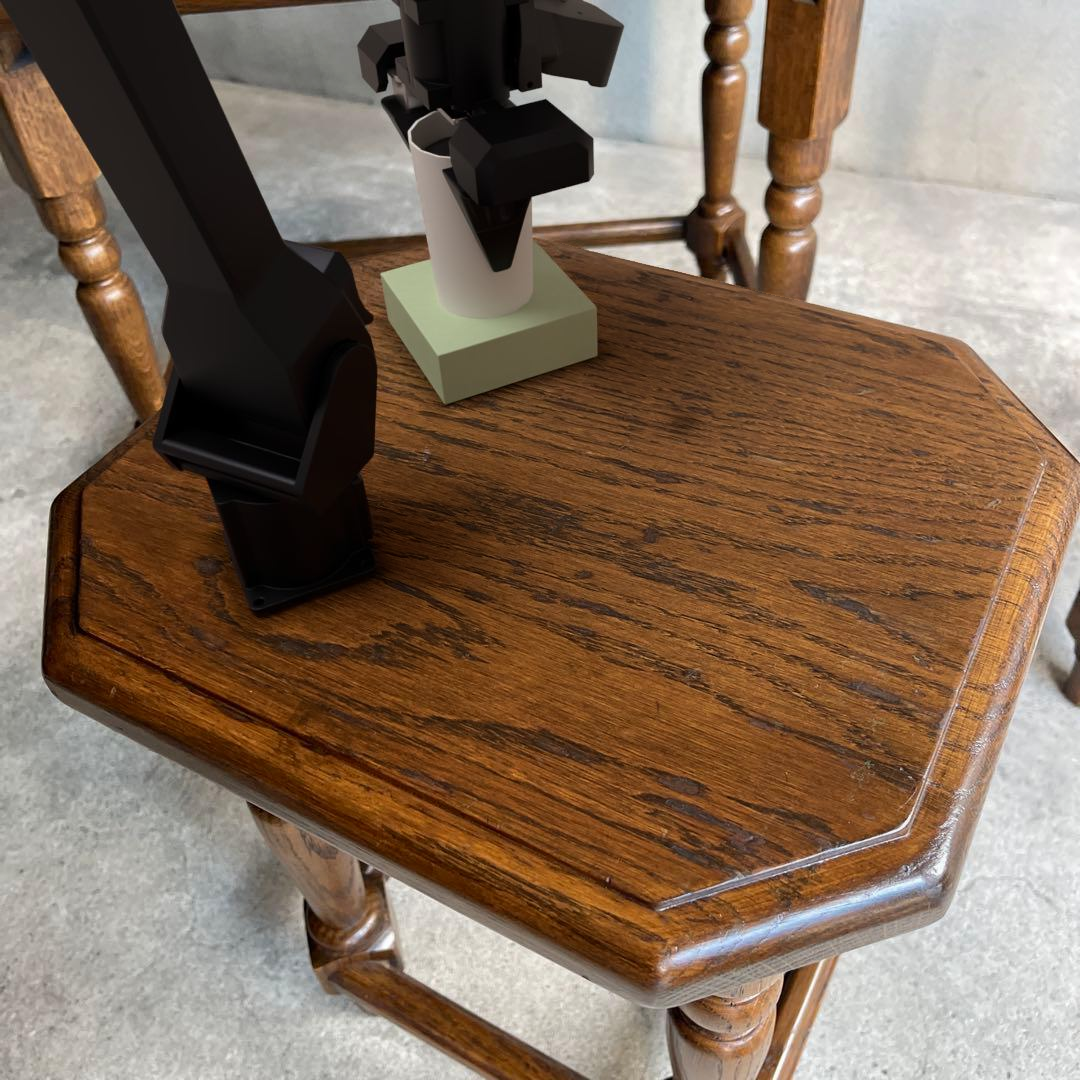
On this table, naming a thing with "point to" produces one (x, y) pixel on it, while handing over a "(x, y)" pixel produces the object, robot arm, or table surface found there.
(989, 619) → the table surface
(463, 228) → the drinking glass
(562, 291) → the riser block
